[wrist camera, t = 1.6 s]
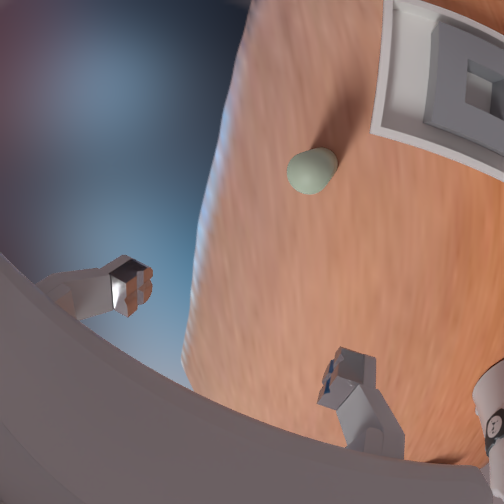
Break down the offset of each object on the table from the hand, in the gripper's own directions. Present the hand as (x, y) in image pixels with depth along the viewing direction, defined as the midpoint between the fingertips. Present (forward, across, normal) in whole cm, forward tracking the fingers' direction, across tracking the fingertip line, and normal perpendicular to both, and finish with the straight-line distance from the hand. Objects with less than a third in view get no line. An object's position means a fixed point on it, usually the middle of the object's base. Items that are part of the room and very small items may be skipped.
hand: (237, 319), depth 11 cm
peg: (+27, +1, -3) cm, 27 cm away
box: (+26, -15, -19) cm, 35 cm away
